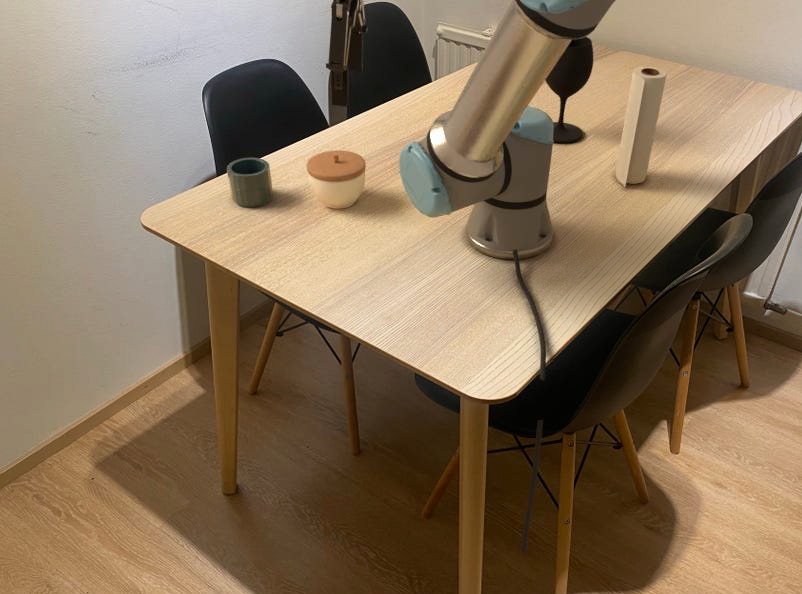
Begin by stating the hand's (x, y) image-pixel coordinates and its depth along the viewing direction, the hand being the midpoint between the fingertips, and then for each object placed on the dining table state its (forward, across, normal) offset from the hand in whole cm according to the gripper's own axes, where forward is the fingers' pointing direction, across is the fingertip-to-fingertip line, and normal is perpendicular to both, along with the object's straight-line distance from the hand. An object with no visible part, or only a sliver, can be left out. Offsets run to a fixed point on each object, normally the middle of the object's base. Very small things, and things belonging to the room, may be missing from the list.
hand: (347, 86), depth 134 cm
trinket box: (+20, +5, -1) cm, 21 cm away
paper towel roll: (+18, -12, +55) cm, 59 cm away
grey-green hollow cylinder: (+22, +6, -17) cm, 28 cm away
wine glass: (+10, -32, +41) cm, 53 cm away
